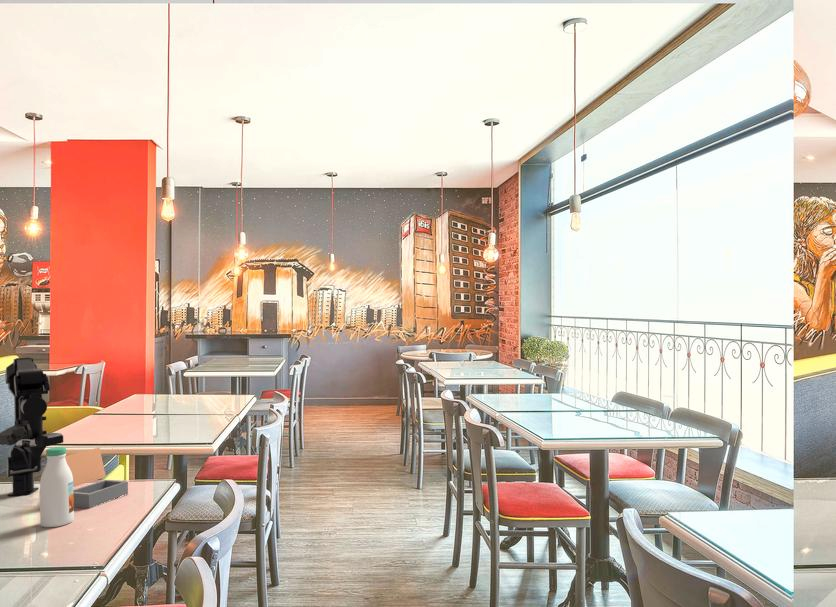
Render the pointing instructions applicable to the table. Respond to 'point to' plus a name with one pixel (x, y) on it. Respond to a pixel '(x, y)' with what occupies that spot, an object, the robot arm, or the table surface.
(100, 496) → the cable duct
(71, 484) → the milk bottle
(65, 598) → the table surface
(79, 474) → the duct cover
